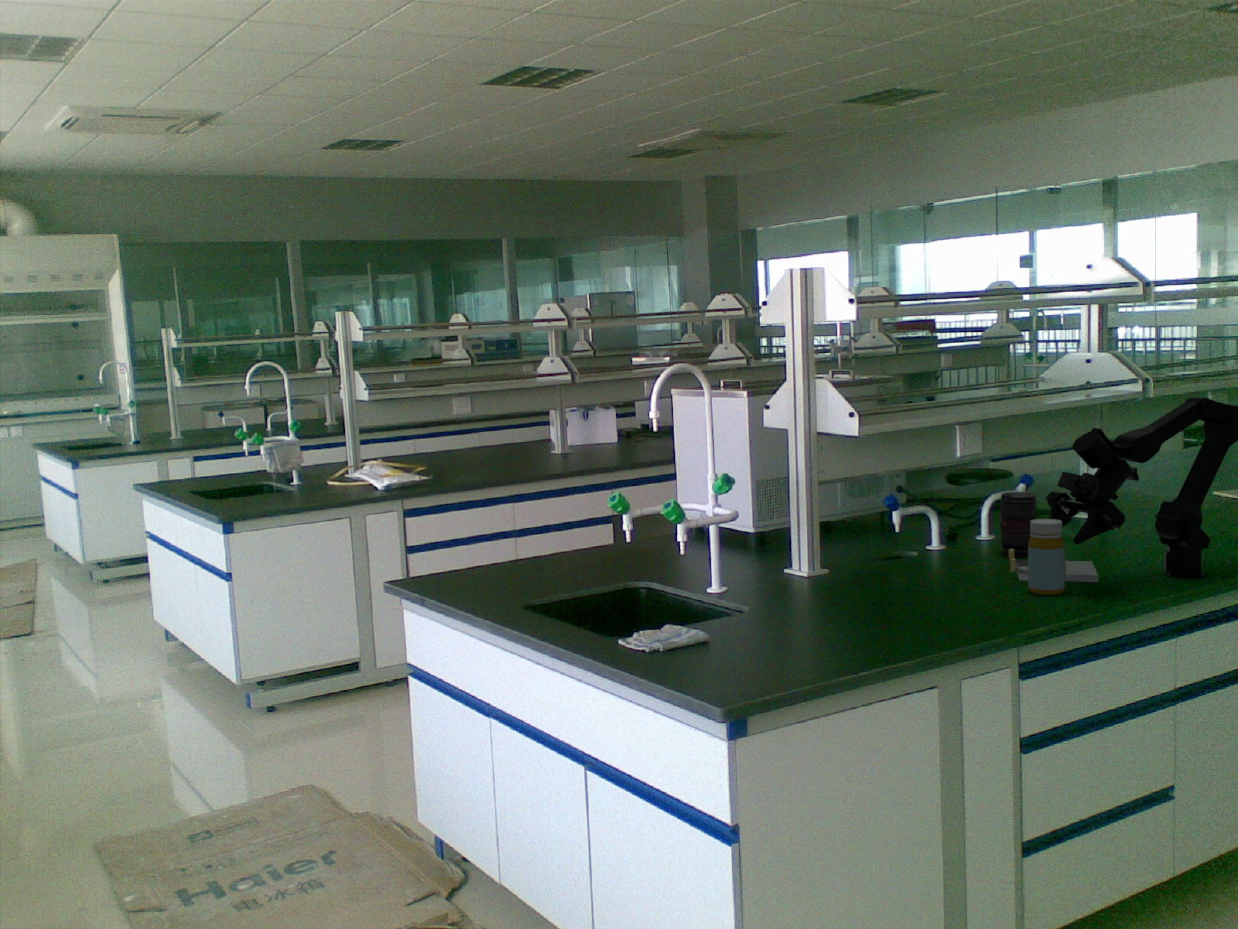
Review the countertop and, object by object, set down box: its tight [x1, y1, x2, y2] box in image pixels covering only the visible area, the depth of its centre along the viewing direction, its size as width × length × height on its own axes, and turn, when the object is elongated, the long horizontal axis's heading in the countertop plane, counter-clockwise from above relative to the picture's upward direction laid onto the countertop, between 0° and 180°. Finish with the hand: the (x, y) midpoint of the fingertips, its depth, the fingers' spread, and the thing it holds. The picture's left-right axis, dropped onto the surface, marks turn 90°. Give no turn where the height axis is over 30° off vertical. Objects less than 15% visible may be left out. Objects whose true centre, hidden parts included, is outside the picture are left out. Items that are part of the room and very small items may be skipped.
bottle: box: [1027, 518, 1066, 597], centre depth 225 cm, size 7×7×15 cm
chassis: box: [1008, 549, 1099, 583], centre depth 241 cm, size 18×14×4 cm
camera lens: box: [999, 491, 1037, 559], centre depth 261 cm, size 8×8×15 cm
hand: (1060, 539), depth 226 cm, fingers open, 9 cm apart
